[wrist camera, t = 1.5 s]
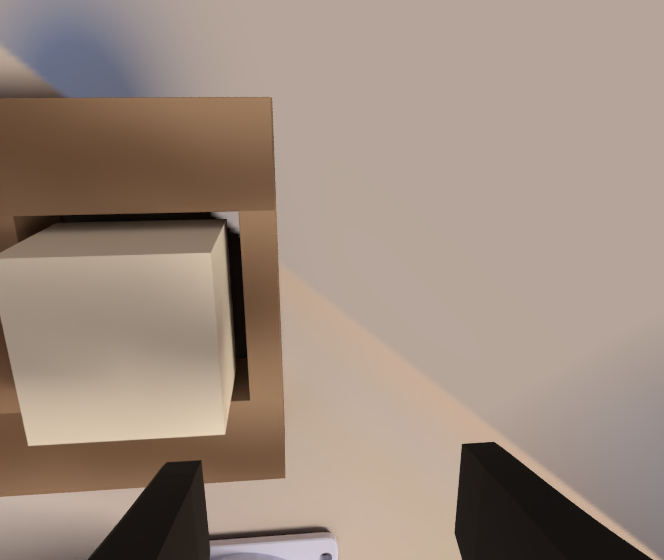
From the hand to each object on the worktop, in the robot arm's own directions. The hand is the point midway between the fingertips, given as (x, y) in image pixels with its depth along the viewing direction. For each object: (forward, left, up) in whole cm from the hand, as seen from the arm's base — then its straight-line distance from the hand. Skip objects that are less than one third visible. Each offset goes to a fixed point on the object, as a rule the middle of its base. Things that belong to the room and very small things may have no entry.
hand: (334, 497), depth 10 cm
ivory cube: (+1, +5, -8) cm, 10 cm away
